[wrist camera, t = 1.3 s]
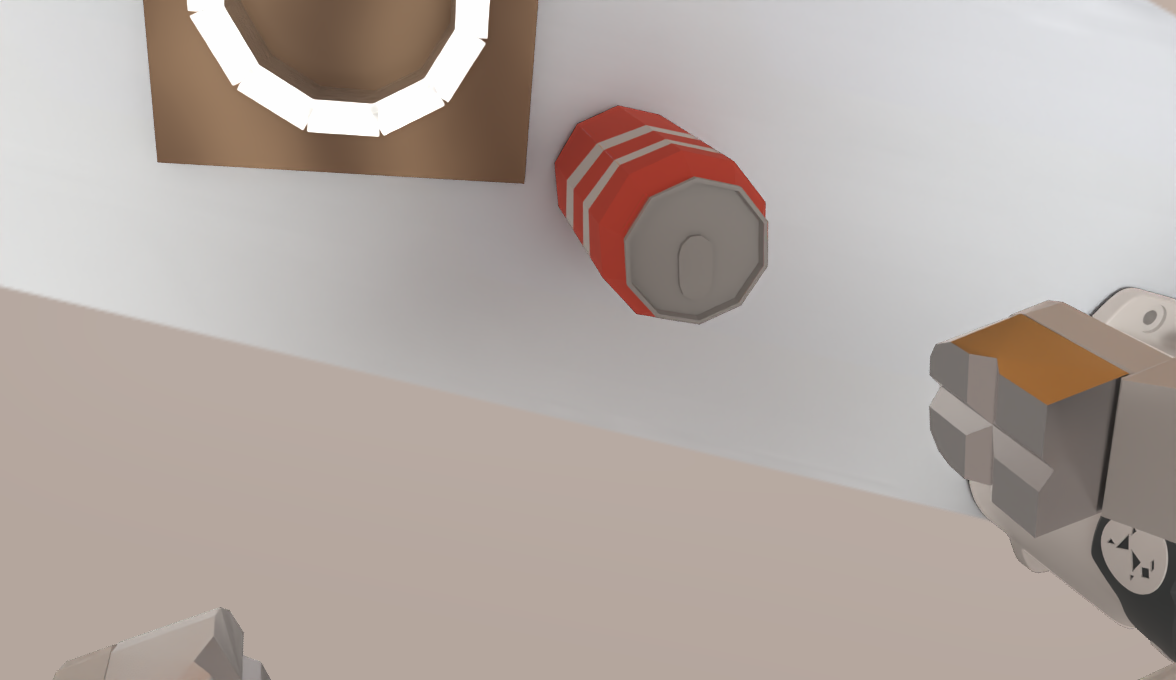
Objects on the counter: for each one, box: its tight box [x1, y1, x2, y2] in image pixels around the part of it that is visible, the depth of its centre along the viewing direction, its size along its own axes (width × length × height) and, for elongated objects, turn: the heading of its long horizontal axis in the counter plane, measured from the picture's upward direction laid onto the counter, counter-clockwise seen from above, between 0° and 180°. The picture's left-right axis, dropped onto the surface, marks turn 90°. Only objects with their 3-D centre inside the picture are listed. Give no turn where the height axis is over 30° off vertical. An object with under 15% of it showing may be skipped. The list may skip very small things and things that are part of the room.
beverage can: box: [555, 106, 768, 324], centre depth 35 cm, size 6×6×12 cm
